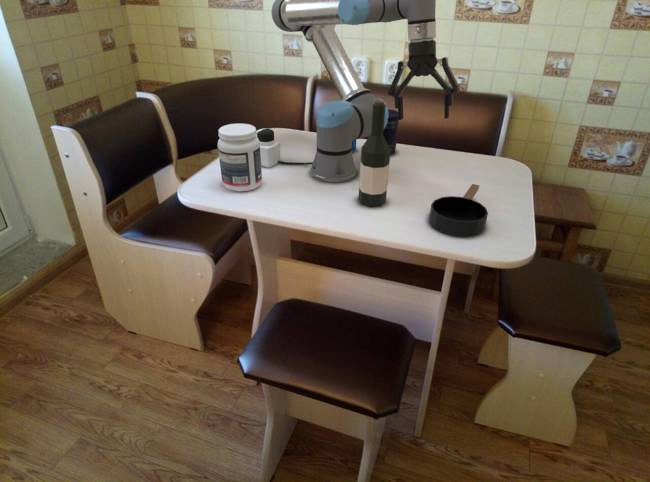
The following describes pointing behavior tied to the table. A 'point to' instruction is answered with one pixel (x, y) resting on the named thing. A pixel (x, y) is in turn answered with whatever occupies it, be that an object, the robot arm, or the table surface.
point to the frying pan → (459, 214)
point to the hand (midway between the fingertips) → (423, 118)
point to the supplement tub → (239, 157)
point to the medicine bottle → (268, 148)
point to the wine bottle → (375, 162)
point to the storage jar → (391, 130)
